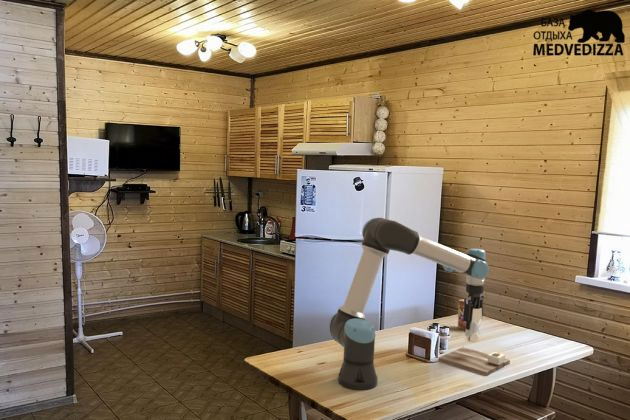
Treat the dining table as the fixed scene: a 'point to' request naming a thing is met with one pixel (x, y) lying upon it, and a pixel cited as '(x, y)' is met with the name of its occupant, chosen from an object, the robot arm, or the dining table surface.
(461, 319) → the candy box
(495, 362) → the cream block with hole
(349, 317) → the robot arm
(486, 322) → the dining table surface
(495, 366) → the board
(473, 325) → the clear glass bottle
